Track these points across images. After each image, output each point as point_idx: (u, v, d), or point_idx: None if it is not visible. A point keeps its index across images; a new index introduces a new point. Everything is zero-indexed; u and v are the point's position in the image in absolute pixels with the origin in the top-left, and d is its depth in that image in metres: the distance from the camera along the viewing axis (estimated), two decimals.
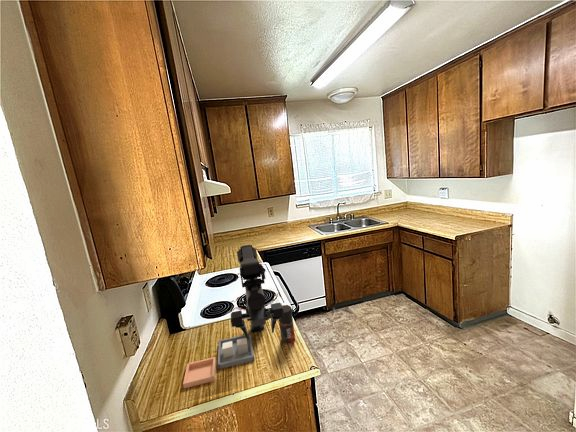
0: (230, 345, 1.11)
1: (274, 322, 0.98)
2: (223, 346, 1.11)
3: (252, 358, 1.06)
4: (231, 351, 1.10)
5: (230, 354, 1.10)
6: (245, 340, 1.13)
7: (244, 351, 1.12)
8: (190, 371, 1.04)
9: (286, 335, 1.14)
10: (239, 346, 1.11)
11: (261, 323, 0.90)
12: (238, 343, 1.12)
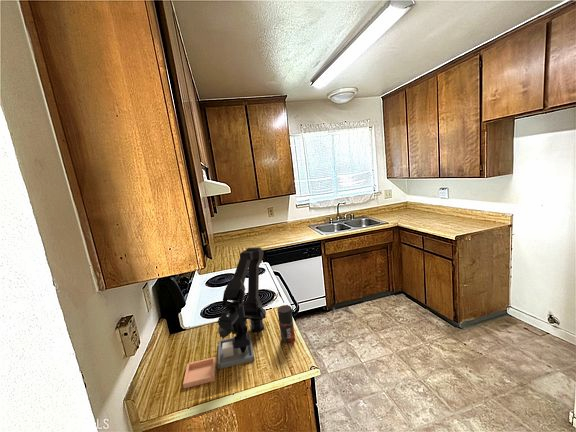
0: (230, 345, 1.11)
1: None
2: (223, 346, 1.11)
3: (252, 358, 1.06)
4: (231, 351, 1.10)
5: (230, 354, 1.10)
6: None
7: None
8: (190, 371, 1.04)
9: (286, 335, 1.14)
10: None
11: None
12: None
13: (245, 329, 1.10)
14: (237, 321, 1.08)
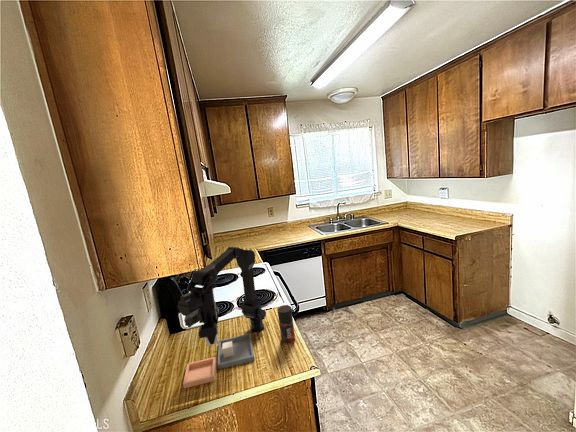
0: (230, 345, 1.11)
1: None
2: (223, 346, 1.11)
3: (252, 358, 1.06)
4: (231, 351, 1.10)
5: (230, 354, 1.10)
6: None
7: None
8: (190, 371, 1.04)
9: (286, 335, 1.14)
10: None
11: None
12: None
13: (214, 318, 1.00)
14: (205, 309, 0.99)
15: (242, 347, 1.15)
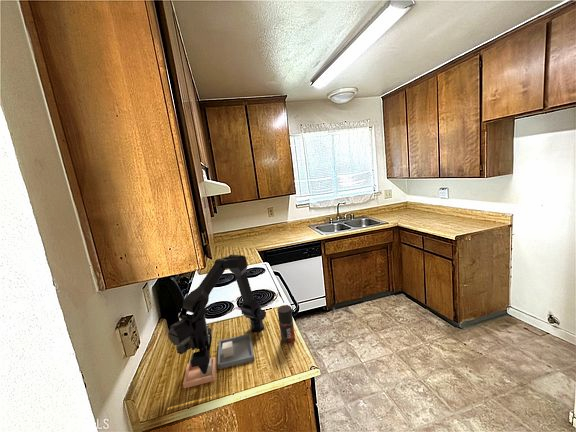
0: (230, 345, 1.11)
1: None
2: (223, 346, 1.11)
3: (252, 358, 1.06)
4: (231, 351, 1.10)
5: (230, 354, 1.10)
6: None
7: (207, 374, 1.01)
8: (190, 371, 1.04)
9: (286, 335, 1.14)
10: None
11: None
12: None
13: (206, 344, 0.99)
14: (197, 335, 0.97)
15: (242, 347, 1.15)
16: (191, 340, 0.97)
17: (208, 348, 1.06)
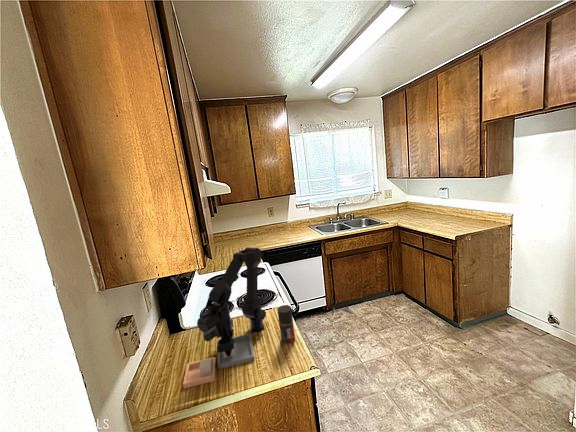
0: None
1: None
2: None
3: (252, 358, 1.06)
4: (231, 351, 1.10)
5: (230, 354, 1.10)
6: (209, 361, 1.03)
7: (207, 374, 1.01)
8: (190, 371, 1.04)
9: (286, 335, 1.14)
10: (201, 368, 1.00)
11: None
12: (201, 365, 1.01)
13: (230, 332, 1.09)
14: (222, 324, 1.07)
15: (242, 347, 1.15)
16: (216, 329, 1.07)
17: None
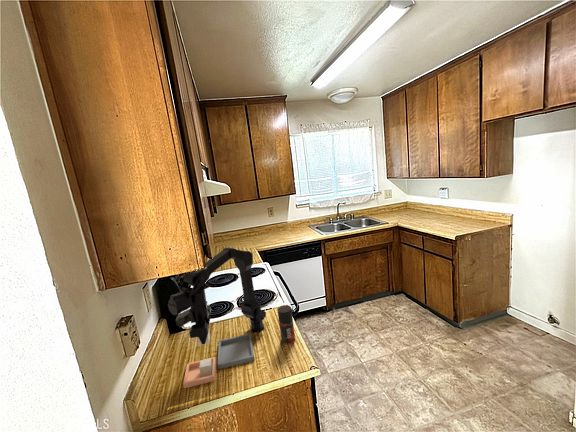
0: None
1: None
2: None
3: (252, 358, 1.06)
4: (206, 338, 1.02)
5: (205, 342, 1.02)
6: (209, 361, 1.03)
7: (207, 374, 1.01)
8: (190, 371, 1.04)
9: (286, 335, 1.14)
10: (201, 368, 1.00)
11: None
12: (201, 365, 1.01)
13: (206, 318, 1.01)
14: (196, 309, 0.99)
15: (242, 347, 1.15)
16: (190, 313, 0.99)
17: None
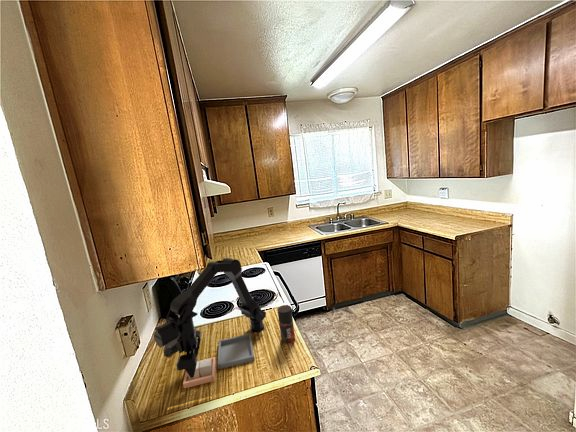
0: (196, 366, 1.01)
1: None
2: None
3: (252, 358, 1.06)
4: (197, 373, 1.00)
5: (196, 376, 1.00)
6: (209, 361, 1.03)
7: (207, 374, 1.01)
8: None
9: (286, 335, 1.14)
10: (201, 368, 1.00)
11: None
12: (201, 365, 1.01)
13: (194, 347, 0.98)
14: (184, 338, 0.96)
15: (242, 347, 1.15)
16: (178, 343, 0.97)
17: (197, 350, 1.06)
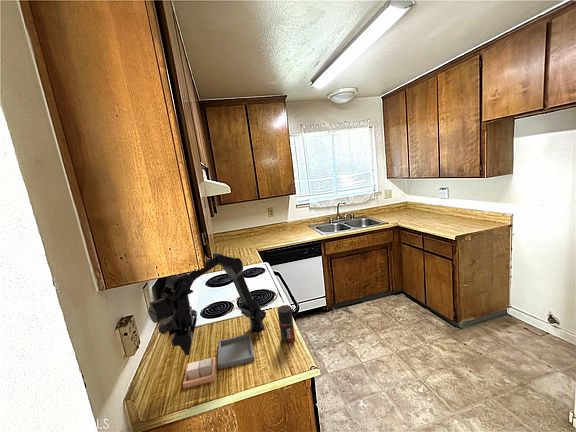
0: (196, 366, 1.01)
1: None
2: (188, 367, 1.01)
3: (252, 358, 1.06)
4: (197, 373, 1.00)
5: (196, 376, 1.00)
6: (209, 361, 1.03)
7: (207, 374, 1.01)
8: None
9: (286, 335, 1.14)
10: (201, 368, 1.00)
11: None
12: (201, 365, 1.01)
13: (190, 324, 0.97)
14: (180, 315, 0.95)
15: (242, 347, 1.15)
16: (173, 320, 0.95)
17: (192, 329, 1.04)
